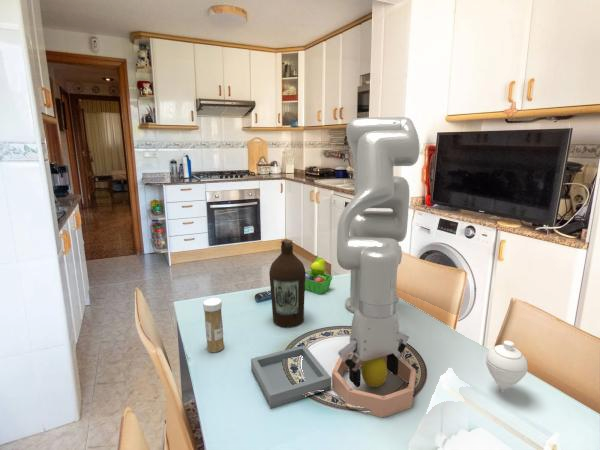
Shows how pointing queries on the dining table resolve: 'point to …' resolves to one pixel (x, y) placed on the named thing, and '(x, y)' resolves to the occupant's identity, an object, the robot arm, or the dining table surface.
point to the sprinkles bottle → (213, 324)
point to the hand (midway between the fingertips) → (373, 377)
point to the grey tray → (278, 384)
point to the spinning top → (506, 365)
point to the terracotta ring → (374, 402)
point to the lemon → (374, 372)
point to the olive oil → (287, 287)
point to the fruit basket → (317, 277)
